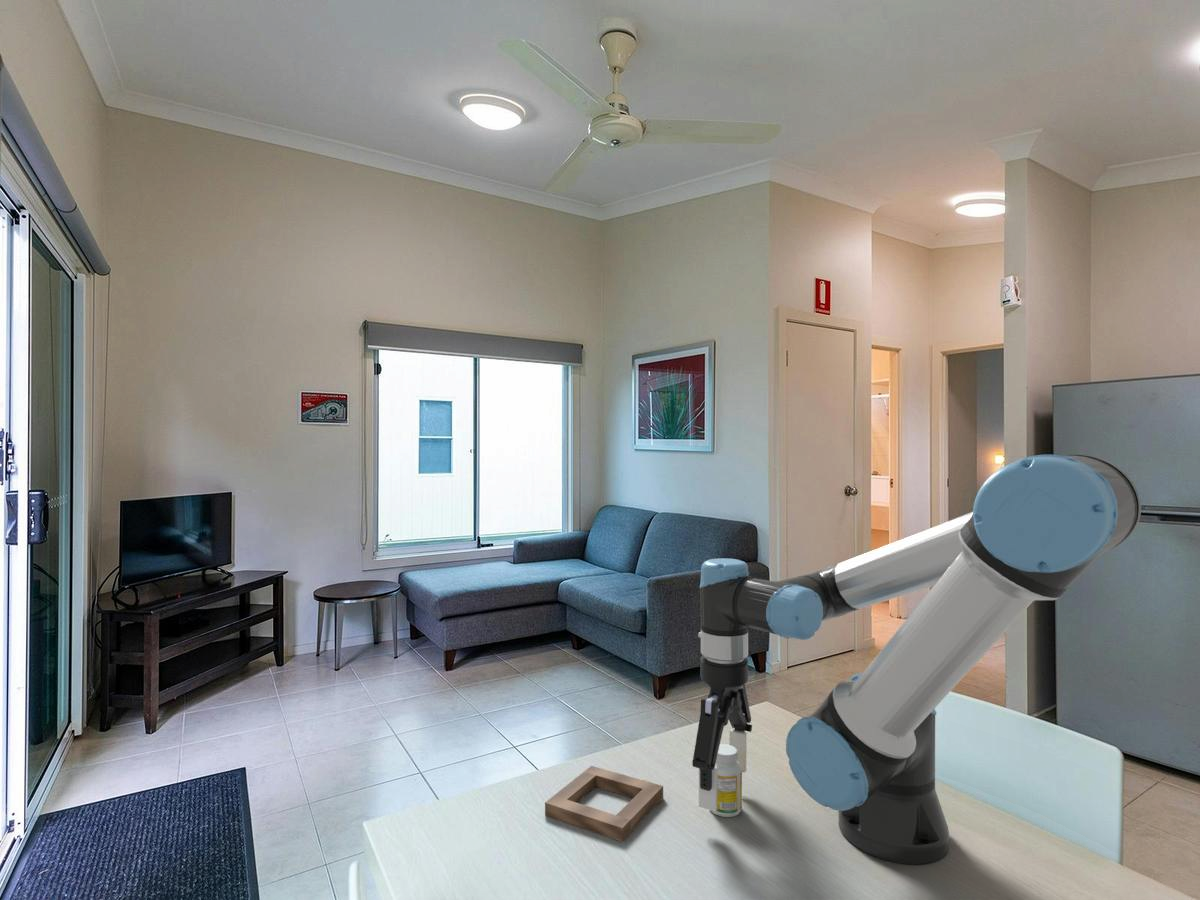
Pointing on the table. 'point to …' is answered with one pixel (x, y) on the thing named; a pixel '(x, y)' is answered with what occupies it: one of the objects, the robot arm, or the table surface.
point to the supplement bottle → (728, 782)
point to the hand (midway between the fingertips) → (723, 788)
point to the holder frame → (599, 821)
